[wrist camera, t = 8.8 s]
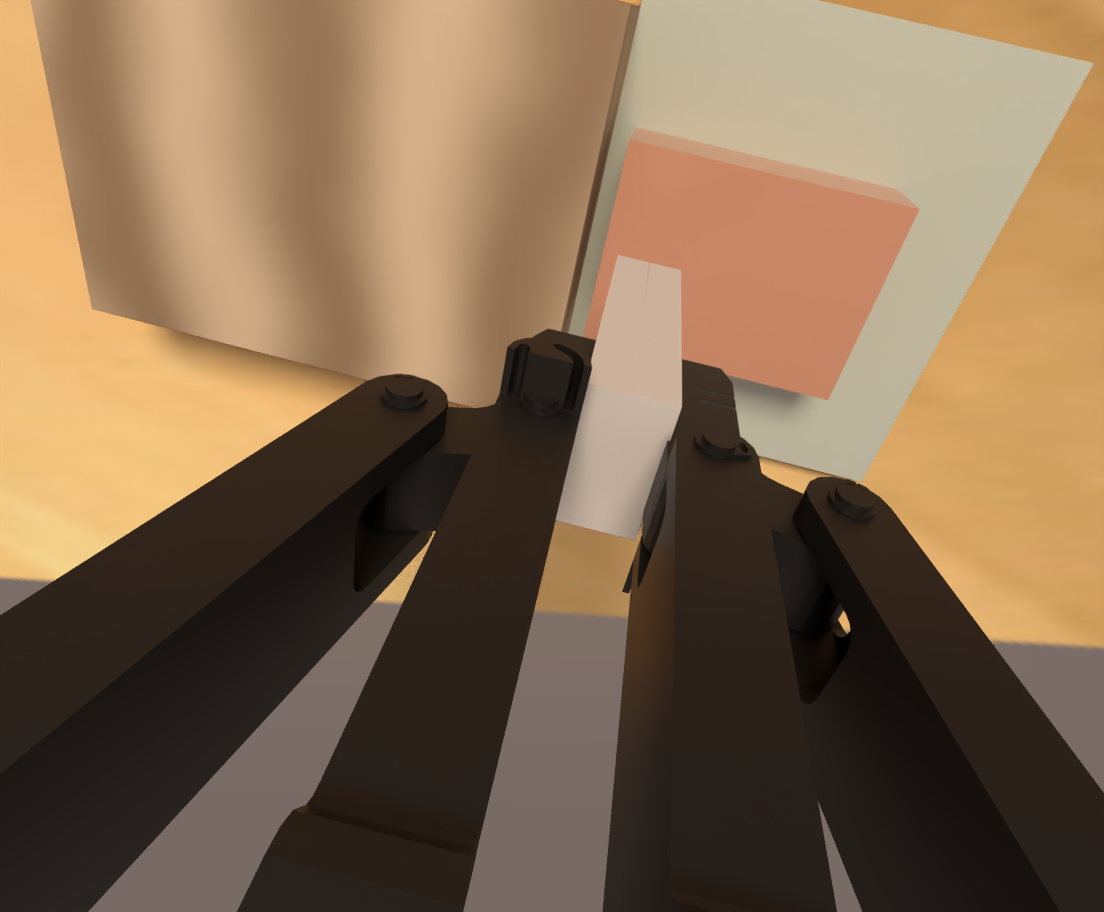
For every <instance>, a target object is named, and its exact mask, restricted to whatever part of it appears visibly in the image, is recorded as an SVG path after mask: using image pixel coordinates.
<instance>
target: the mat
mask: <svg viewBox="0 0 1104 912" xmlns="http://www.w3.org/2000/svg"><path fill="white" fill-rule="evenodd" d="M1093 64H1094V63H1090V62H1086V61H1082V60H1077V59H1073V58H1069V57H1064V56H1060V55H1056V54H1051V53H1047V52H1042V51H1038V50H1034V49H1029V48H1025V47H1021V46H1016V45H1012V44H1007V43H1003V42H999V41H994V40H990V39H986V38H981V37H977V36H973V35H968V34H964V33H959V32H955V31H951V30H946V29H942V28H938V27H933V26H929V25H924V24H920V23H916V22H911V21H907V20H903V19H898V18H894V17H889V16H885V15H881V14H876V13H872V12H868V11H863V10H859V9H855V8H850V7H846V6H841V5H837V4H833V3H828V2H824V1H820V0H642V2H641V6H640V11H639V15H638V20H637V25H636V29H635V34H634V38H633V43H632V47H631V52H630V56H629V61H628V65H627V70H626V74H625V79H624V83H623V88H622V93H621V97H620V102H619V106H618V111H617V115H616V120H615V124H614V129H613V133H612V138H611V142H610V147H609V151H608V156H607V161H606V165H605V170H604V174H603V179H602V183H601V188H600V192H599V197H598V201H597V206H596V210H595V215H594V219H593V224H592V229H591V233H590V238H589V242H588V247H587V251H586V256H585V260H584V265H583V269H582V274H581V278H580V283H579V287H578V292H577V297H576V301H575V306H574V310H573V315H572V319H571V324H570V328H569V334H573V335H577V336H581V337H583V336H584V332H585V327H586V323H587V319H588V314H589V310H590V306H591V302H592V297H593V293H594V289H595V285H596V280H597V276H598V272H599V267H600V263H601V259H602V255H603V250H604V246H605V242H606V237H607V233H608V229H609V225H610V220H611V216H612V212H613V208H614V203H615V199H616V195H617V190H618V186H619V182H620V178H621V173H622V169H623V165H624V161H625V156H626V152H627V148H628V143H629V139H630V138H631V136H632V134H633V132H634V130H635V128H636V127H638V128H642V129H647V130H651V131H655V132H659V133H663V134H668V135H672V136H676V137H680V138H684V139H689V140H693V141H697V142H701V143H705V144H709V145H714V146H718V147H722V148H726V149H730V150H735V151H739V152H743V153H747V154H751V155H756V156H760V157H764V158H768V159H772V160H777V161H781V162H785V163H789V164H793V165H797V166H802V167H806V168H810V169H814V170H818V171H823V172H827V173H831V174H835V175H839V176H844V177H848V178H852V179H856V180H860V181H865V182H869V183H873V184H877V185H881V186H886V187H890V188H894V189H898V190H899V191H900V192H901V193H902V194H903V195H904V196H905V197H907V198H908V199H909V200H910V201H911V202H912V203H913V204H915V205H916V206H917V207H918V208H919V209H920V210H919V212H918V214H917V216H916V218H915V220H914V222H913V224H912V226H911V228H910V231H909V233H908V235H907V237H906V239H905V241H904V243H903V245H902V247H901V249H900V251H899V253H898V256H897V258H896V260H895V262H894V264H893V266H892V268H891V270H890V272H889V274H888V276H887V278H886V281H885V283H884V285H883V287H882V289H881V291H880V293H879V295H878V297H877V299H876V301H875V303H874V306H873V308H872V310H871V312H870V314H869V316H868V318H867V320H866V322H865V324H864V326H863V328H862V331H861V333H860V335H859V337H858V339H857V341H856V343H855V345H854V347H853V349H852V351H851V354H850V356H849V358H848V360H847V362H846V364H845V366H844V368H843V370H842V372H841V374H840V376H839V379H838V381H837V383H836V385H835V387H834V389H833V391H832V393H831V395H830V397H829V399H828V400H824V399H820V398H816V397H812V396H809V395H805V394H801V393H797V392H793V391H789V390H785V389H781V388H777V387H773V386H769V385H765V384H761V383H757V382H753V381H749V380H745V379H741V378H737V377H733V376H729V375H727V377H728V378H729V379H730V380H731V381H732V383H733V389H734V399H735V403H736V408H735V409H736V410H737V417H738V424H739V432H740V437H742V438H744V439H745V440H746V441H747V442H748V443H749V444H750V445H752V446H753V447H754V449H755V451H756V453H757V455H758V456H762V457H766V458H770V459H774V460H778V461H782V462H786V463H790V464H793V465H797V466H801V467H805V468H809V469H813V470H817V471H821V472H825V473H828V474H832V475H836V476H840V477H844V478H848V479H852V480H856V481H859V482H862V480H863V478H864V476H865V475H866V473H867V471H868V469H869V467H870V466H871V464H872V462H873V460H874V458H875V457H876V455H877V453H878V451H879V449H880V447H881V446H882V444H883V442H884V440H885V438H886V437H887V435H888V433H889V431H890V429H891V428H892V426H893V424H894V422H895V420H896V419H897V417H898V415H899V413H900V411H901V410H902V408H903V406H904V404H905V402H906V401H907V399H908V397H909V395H910V393H911V392H912V390H913V388H914V386H915V384H916V383H917V381H918V379H919V377H920V375H921V374H922V372H923V370H924V368H925V366H926V365H927V363H928V361H929V359H930V357H931V356H932V354H933V352H934V350H935V348H936V347H937V345H938V343H939V341H940V339H941V338H942V336H943V334H944V332H945V330H946V329H947V327H948V325H949V323H950V321H951V320H952V318H953V316H954V314H955V312H956V311H957V309H958V307H959V305H960V303H961V302H962V300H963V298H964V296H965V294H966V293H967V291H968V289H969V287H970V285H971V284H972V282H973V280H974V278H975V276H976V275H977V273H978V271H979V269H980V267H981V266H982V264H983V262H984V260H985V258H986V256H987V255H988V253H989V251H990V249H991V247H992V246H993V244H994V242H995V240H996V238H997V237H998V235H999V233H1000V231H1001V229H1002V228H1003V226H1004V224H1005V222H1006V220H1007V219H1008V217H1009V215H1010V213H1011V211H1012V210H1013V208H1014V206H1015V204H1016V202H1017V201H1018V199H1019V197H1020V195H1021V193H1022V192H1023V190H1024V188H1025V186H1026V184H1027V183H1028V181H1029V179H1030V177H1031V175H1032V174H1033V172H1034V170H1035V168H1036V166H1037V165H1038V163H1039V161H1040V159H1041V157H1042V156H1043V154H1044V152H1045V150H1046V148H1047V147H1048V145H1049V143H1050V141H1051V139H1052V138H1053V136H1054V134H1055V132H1056V130H1057V129H1058V127H1059V125H1060V123H1061V121H1062V120H1063V118H1064V116H1065V114H1066V112H1067V111H1068V109H1069V107H1070V105H1071V103H1072V102H1073V100H1074V98H1075V96H1076V94H1077V93H1078V91H1079V89H1080V87H1081V85H1082V84H1083V82H1084V80H1085V78H1086V76H1087V75H1088V73H1089V71H1090V69H1091V67H1092V66H1093Z"/></svg>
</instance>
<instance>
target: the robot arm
mask: <svg viewBox="0 0 1104 912" xmlns="http://www.w3.org/2000/svg"><path fill="white" fill-rule="evenodd" d="M735 408H736V403H735V399H734V389H733V383H732V381H731V380H730V379H729V378H728V377H727V375H726V374H725V373H724V372H723V371H722V369H721V368H717V367H713V366H709V365H704V364H700V363H696V362H692V361H688V360H684V359H682V312H681V270H679V269H675V268H671V267H666V266H662V265H658V264H654V263H650V262H646V261H641V260H637V259H633V258H629V257H625V256H621V255H618V256H617V260H616V264H615V268H614V272H613V276H612V280H611V284H610V288H609V292H608V296H607V300H606V304H605V308H604V312H603V316H602V319H601V323H600V327H599V331H598V335H597V339H596V340H594V339H590V338H585V337H581V336H577V335H573V334H569V333H565V332H561V331H557V330H553V329H549V328H548V329H546V330H544V331H542V332H541V333H539V334H537V335H535V336H533V338H523V339H520V340H516V341H513V342H512V343H511V344H510V345H509V346H508V347H507V352H506V358H505V364H504V370H503V376H502V382H501V388H500V394H499V396H498V398H497V400H496V402H495V404H493V405H490V406H486V407H480V408H455V407H448V398H447V394H446V393H445V392H444V391H443V390H442V388H441V387H440V386H438V385H436V384H435V383H433V382H431V381H429V380H427V379H423V378H420V377H416V376H414V375H409V374H406V375H404V374H392V375H384V376H378V377H376V378H373V379H371V380H369V381H366V382H365V383H363V384H362V385H360V386H358V387H357V388H355V389H354V390H352V391H351V392H349V393H348V394H346V395H344V396H343V397H341V398H340V399H338V400H337V401H335V402H333V403H332V404H330V405H329V406H327V407H326V408H324V409H322V410H321V411H319V412H318V413H316V414H315V415H313V416H312V417H310V418H308V419H307V420H305V421H304V422H302V423H301V424H299V425H297V426H296V427H294V428H293V429H291V430H290V431H288V432H286V433H285V434H283V435H282V436H280V437H279V438H277V439H275V440H274V441H272V442H271V443H269V444H268V445H266V446H265V447H263V448H261V449H260V450H258V451H257V452H255V453H254V454H252V455H250V456H249V457H247V458H246V459H244V460H243V461H241V462H239V463H238V464H236V465H235V466H233V467H232V468H230V469H229V470H227V471H225V472H224V473H222V474H221V475H219V476H218V477H216V478H214V479H213V480H211V481H210V482H208V483H207V484H205V485H203V486H202V487H200V488H199V489H197V490H196V491H194V492H192V493H191V494H189V495H188V496H186V497H185V498H183V499H182V500H180V501H178V502H177V503H175V504H174V505H172V506H171V507H169V508H167V509H166V510H164V511H163V512H161V513H160V514H158V515H156V516H155V517H153V518H152V519H150V520H149V521H147V522H146V523H144V524H142V525H141V526H139V527H138V528H136V529H135V530H133V531H131V532H130V533H128V534H127V535H125V536H124V537H122V538H120V539H119V540H117V541H116V542H114V543H113V544H111V545H109V546H108V547H106V548H105V549H103V550H102V551H100V552H99V553H97V554H95V555H94V556H92V557H91V558H89V559H88V560H86V561H84V562H83V563H81V564H80V565H78V566H77V567H75V568H73V569H72V570H70V571H69V572H67V573H66V574H64V575H63V576H61V577H59V578H58V579H56V580H55V581H53V582H52V583H50V584H49V585H47V586H45V587H44V588H42V589H41V590H39V591H38V592H36V593H34V594H33V595H31V596H30V597H28V598H27V599H25V600H23V601H22V602H20V603H19V604H17V605H16V606H14V607H12V608H11V609H9V610H8V611H7V612H5V613H3V614H1V615H0V912H88V911H89V910H90V909H91V908H92V907H93V906H94V904H96V902H97V901H98V900H99V899H100V898H101V897H102V896H103V895H104V894H105V893H106V891H107V890H108V889H109V888H110V887H111V886H112V885H113V884H114V883H115V882H116V881H117V879H119V877H120V876H121V875H122V874H123V873H124V872H125V871H126V870H127V869H128V868H129V867H130V865H131V864H132V863H133V862H134V861H135V860H136V859H137V858H138V857H139V856H140V855H141V854H142V853H143V851H144V850H145V849H146V848H147V847H148V846H149V845H150V844H151V843H152V842H153V841H154V839H155V838H156V837H157V836H158V835H159V834H160V833H161V832H162V831H163V830H164V829H165V828H166V826H167V825H168V824H169V823H170V822H171V821H172V820H173V819H174V818H175V817H176V816H177V815H178V813H179V812H180V811H181V810H182V809H183V808H184V807H185V806H186V805H187V804H188V803H189V802H190V800H191V799H192V798H193V797H194V796H195V795H196V794H197V793H198V792H199V791H200V790H201V789H202V787H203V786H204V785H205V784H206V783H207V782H208V781H209V780H210V779H211V778H212V777H213V775H214V774H215V773H216V772H217V771H218V770H219V769H220V768H221V767H222V766H223V765H224V764H225V762H226V761H227V760H228V759H229V758H230V757H231V756H232V755H233V754H234V753H235V752H236V751H237V749H238V748H239V747H240V746H241V745H242V744H243V743H244V742H245V741H246V740H247V738H249V736H250V735H251V734H252V733H253V732H254V731H255V730H256V729H257V728H258V727H259V726H260V724H261V723H262V722H263V721H264V720H265V719H266V718H267V717H268V716H269V715H270V714H271V713H272V711H273V710H274V709H275V708H276V707H277V706H278V705H279V704H280V703H281V702H282V701H283V700H284V698H285V697H286V696H287V695H288V694H289V693H290V692H291V691H292V690H293V689H294V688H295V686H296V685H297V684H298V683H299V682H300V681H301V680H302V679H303V678H304V677H305V676H306V675H307V673H308V672H309V671H310V670H311V669H312V668H313V667H314V666H315V665H316V663H318V662H319V660H320V659H321V658H322V657H323V656H324V655H325V654H326V653H327V652H328V651H329V650H330V649H331V647H332V646H333V645H334V644H335V643H336V642H337V641H338V640H339V639H340V638H341V636H342V635H343V634H344V633H345V632H346V631H347V630H348V629H349V628H350V627H351V626H352V625H353V624H354V622H355V621H356V620H357V619H358V618H359V617H360V616H361V615H362V614H363V613H364V612H365V610H366V609H367V608H368V607H369V606H370V605H371V604H372V603H373V602H374V601H375V600H376V599H377V597H378V596H379V595H380V594H381V593H382V592H383V591H384V590H385V589H386V588H387V587H388V586H389V584H390V583H391V582H392V581H393V580H394V579H395V578H396V577H397V576H398V575H399V574H400V573H401V571H402V570H403V569H404V568H405V567H406V566H407V565H408V564H409V563H410V562H411V561H412V560H413V558H414V557H415V556H416V555H417V554H418V553H419V552H420V551H421V550H422V549H423V548H424V546H425V545H426V544H427V543H428V541H429V539H430V537H431V536H432V532H433V531H436V532H435V534H434V537H433V539H432V541H431V543H430V545H429V547H428V550H427V552H426V554H425V556H424V558H423V560H422V563H421V565H420V567H419V569H418V571H417V573H416V576H415V578H414V580H413V582H412V584H411V586H410V589H409V591H408V593H407V595H406V597H405V599H404V602H403V604H402V606H401V608H400V610H399V613H398V615H397V617H396V619H395V621H394V623H393V625H392V627H391V630H390V632H389V634H388V636H387V638H386V641H385V643H384V645H383V647H382V649H381V651H380V653H379V656H378V658H377V660H376V662H375V664H374V667H373V669H372V671H371V673H370V675H369V677H368V680H367V682H366V684H365V686H364V688H363V690H362V692H361V695H360V697H359V699H358V701H357V704H356V706H355V708H354V710H353V712H352V714H351V716H350V718H349V720H348V723H347V725H346V727H345V729H344V731H343V733H342V736H341V738H340V740H339V742H338V744H337V747H336V749H335V751H334V753H333V755H332V757H331V759H330V762H329V764H328V766H327V768H326V770H325V773H324V775H323V777H322V779H321V781H320V783H319V785H318V787H317V789H316V791H315V793H314V795H313V797H312V798H311V799H310V800H309V802H308V803H307V805H305V806H302V807H300V808H297V809H294V810H293V811H292V812H291V813H290V815H289V816H288V817H287V818H286V820H285V821H284V823H283V824H282V825H281V826H280V828H279V830H278V832H277V834H276V835H275V837H274V839H273V841H272V843H271V844H270V846H269V848H268V850H267V852H266V854H265V855H264V857H263V859H262V862H261V864H260V866H259V868H258V870H257V872H256V874H255V876H254V878H253V880H252V882H251V884H250V886H249V888H248V890H247V892H246V894H245V896H244V898H243V901H242V902H241V905H240V907H239V909H238V911H237V912H463V910H464V906H465V901H466V897H467V893H468V888H469V884H470V880H471V876H472V871H473V867H474V862H475V858H476V853H477V848H478V844H479V839H480V835H481V831H482V826H483V822H484V818H485V814H486V810H487V805H488V801H489V797H490V793H491V789H492V785H493V780H494V776H495V772H496V768H497V763H498V759H499V755H500V751H501V747H502V743H503V738H504V734H505V730H506V726H507V722H508V717H509V713H510V709H511V705H512V701H513V696H514V692H515V688H516V684H517V680H518V675H519V671H520V667H521V663H522V659H523V654H524V650H525V646H526V641H527V637H528V633H529V629H530V625H531V621H532V617H533V613H534V608H535V604H536V600H537V596H538V592H539V587H540V583H541V579H542V575H543V571H544V566H545V562H546V558H547V554H548V550H549V545H550V541H551V537H552V533H553V529H554V524H555V520H556V521H560V522H564V523H568V524H572V525H576V526H580V527H584V528H588V529H592V530H596V531H600V532H604V533H608V534H612V535H616V536H620V537H624V538H628V539H632V540H636V539H637V536H638V533H639V530H640V527H641V524H642V521H643V527H642V537H641V540H640V542H639V545H638V548H637V551H636V554H635V557H634V560H633V562H632V565H631V568H630V571H629V574H628V577H627V580H626V583H625V585H624V588H623V591H622V592H625V593H629V592H630V589H631V595H630V606H629V617H628V629H627V640H626V652H625V665H624V674H623V675H624V676H623V686H622V697H621V709H620V721H619V731H618V744H617V754H616V766H615V778H614V789H613V800H612V812H611V823H610V835H609V845H608V846H609V847H608V857H607V868H606V880H605V891H604V902H603V912H837V909H836V904H835V898H834V892H833V886H832V881H831V874H830V870H829V863H828V857H827V851H826V845H825V840H824V834H823V828H822V822H821V816H820V810H819V805H818V801H819V804H820V806H821V809H822V811H823V814H824V816H825V819H826V821H827V824H828V826H829V829H830V831H831V834H832V836H833V839H834V841H835V844H836V846H837V849H838V851H839V854H840V857H841V859H842V862H843V864H844V867H845V869H846V871H847V874H848V876H849V879H850V881H851V884H852V886H853V889H854V892H855V894H856V896H857V899H858V902H859V904H860V906H861V909H862V912H1104V793H1103V791H1102V790H1101V789H1100V787H1099V786H1098V785H1097V783H1096V782H1095V780H1094V779H1093V778H1092V776H1091V775H1090V774H1089V772H1088V771H1087V770H1086V769H1085V767H1084V766H1083V764H1082V763H1081V762H1080V760H1079V759H1078V758H1077V756H1076V755H1075V754H1074V752H1073V751H1072V750H1071V748H1070V747H1069V746H1068V744H1067V743H1066V742H1065V740H1064V739H1063V738H1062V736H1061V735H1060V734H1059V732H1058V731H1057V730H1056V728H1055V727H1054V726H1053V724H1052V723H1051V722H1050V720H1049V719H1048V718H1047V716H1046V715H1045V714H1044V712H1043V711H1042V710H1041V708H1040V707H1039V706H1038V704H1037V703H1036V702H1035V700H1034V699H1033V698H1032V696H1031V695H1030V693H1029V692H1028V691H1027V689H1026V688H1025V687H1024V686H1023V684H1022V683H1021V682H1020V680H1019V679H1018V677H1017V676H1016V675H1015V674H1014V672H1013V671H1012V669H1011V668H1010V667H1009V665H1008V664H1007V663H1006V662H1005V660H1004V659H1003V658H1002V656H1001V655H1000V653H999V652H998V651H997V649H996V648H995V647H994V645H993V644H992V643H991V641H990V640H989V639H988V637H987V636H986V635H985V633H984V632H983V631H982V629H981V628H980V627H979V625H978V624H977V623H976V621H975V620H974V619H973V617H972V616H971V615H970V613H969V612H968V611H967V609H966V608H965V606H964V605H963V604H962V602H961V601H960V600H959V598H958V597H957V596H956V594H955V593H954V592H953V590H952V589H951V588H950V586H949V585H948V584H947V582H946V581H945V580H944V578H943V577H942V576H941V574H940V573H939V572H938V570H937V569H936V568H935V566H934V565H933V564H932V562H931V561H930V560H929V558H928V557H927V556H926V554H925V553H924V552H923V550H922V549H921V548H920V546H919V545H918V544H917V542H916V541H915V540H914V538H913V537H912V536H911V534H910V533H909V532H908V530H907V529H906V528H905V526H904V525H903V524H902V522H901V521H900V520H899V518H898V517H897V515H896V514H895V513H894V511H893V510H892V509H891V508H890V507H889V506H888V505H887V504H886V503H885V502H884V501H883V500H882V499H881V498H880V497H879V496H877V495H876V494H874V493H873V492H871V491H870V490H869V489H868V488H866V487H865V486H863V485H861V484H856V482H853V481H850V480H844V479H839V478H835V477H818V478H816V479H814V480H812V481H810V482H809V484H808V486H807V488H806V490H805V492H804V494H802V493H800V492H798V491H795V490H793V489H791V488H789V487H786V486H784V485H782V484H780V483H778V482H776V481H774V480H772V479H770V478H768V477H766V476H765V475H764V474H762V473H761V467H760V462H759V457H758V455H757V453H756V451H755V449H754V447H753V446H752V445H750V444H749V443H748V442H747V441H746V440H745V439H744V438H742V437H740V432H739V424H738V417H737V410H736V409H735ZM843 611H845V613H846V615H847V618H848V620H849V623H850V630H851V631H850V632H849V633H848V634H846V632H845V631H844V630H843V628H842V626H841V624H840V622H839V620H838V619H839V617H840V616H841V614H842V612H843Z"/></svg>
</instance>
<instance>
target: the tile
mask: <svg viewBox="0 0 1104 912" xmlns="http://www.w3.org/2000/svg"><path fill="white" fill-rule="evenodd" d="M919 210H920V209H919V208H918V207H917V206H916V205H915V204H913V203H912V202H911V201H910V200H909V199H908V198H907V197H905V196H904V195H903V194H902V193H901V192H900V191H899V190H898V189H894V188H890V187H886V186H881V185H877V184H873V183H869V182H865V181H860V180H856V179H852V178H848V177H844V176H839V175H835V174H831V173H827V172H823V171H818V170H814V169H810V168H806V167H802V166H797V165H793V164H789V163H785V162H781V161H777V160H772V159H768V158H764V157H760V156H756V155H751V154H747V153H743V152H739V151H735V150H730V149H726V148H722V147H718V146H714V145H709V144H705V143H701V142H697V141H693V140H689V139H684V138H680V137H676V136H672V135H668V134H663V133H659V132H655V131H651V130H647V129H642V128H638V127H636V128H635V130H634V132H633V134H632V136H631V138H630V139H629V143H628V148H627V152H626V156H625V161H624V165H623V169H622V173H621V178H620V182H619V186H618V190H617V195H616V199H615V203H614V208H613V212H612V216H611V220H610V225H609V229H608V233H607V237H606V242H605V246H604V250H603V255H602V259H601V263H600V267H599V272H598V276H597V280H596V285H595V289H594V293H593V297H592V302H591V306H590V310H589V314H588V319H587V323H586V327H585V332H584V336H583V337H585V338H590V339H594V340H596V339H597V335H598V331H599V327H600V323H601V319H602V316H603V312H604V308H605V304H606V300H607V296H608V292H609V288H610V284H611V280H612V276H613V272H614V268H615V264H616V260H617V256H618V255H621V256H625V257H629V258H633V259H637V260H641V261H646V262H650V263H654V264H658V265H662V266H666V267H671V268H675V269H679V270H681V312H682V359H684V360H688V361H692V362H696V363H700V364H704V365H709V366H713V367H717V368H721V369H722V371H723V372H724V373H725V374H726V375H729V376H733V377H737V378H741V379H745V380H749V381H753V382H757V383H761V384H765V385H769V386H773V387H777V388H781V389H785V390H789V391H793V392H797V393H801V394H805V395H809V396H812V397H816V398H820V399H824V400H828V399H829V397H830V395H831V393H832V391H833V389H834V387H835V385H836V383H837V381H838V379H839V376H840V374H841V372H842V370H843V368H844V366H845V364H846V362H847V360H848V358H849V356H850V354H851V351H852V349H853V347H854V345H855V343H856V341H857V339H858V337H859V335H860V333H861V331H862V328H863V326H864V324H865V322H866V320H867V318H868V316H869V314H870V312H871V310H872V308H873V306H874V303H875V301H876V299H877V297H878V295H879V293H880V291H881V289H882V287H883V285H884V283H885V281H886V278H887V276H888V274H889V272H890V270H891V268H892V266H893V264H894V262H895V260H896V258H897V256H898V253H899V251H900V249H901V247H902V245H903V243H904V241H905V239H906V237H907V235H908V233H909V231H910V228H911V226H912V224H913V222H914V220H915V218H916V216H917V214H918V212H919Z"/></svg>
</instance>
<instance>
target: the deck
mask: <svg viewBox="0 0 1104 912" xmlns="http://www.w3.org/2000/svg"><path fill="white" fill-rule="evenodd" d="M31 4H32V9H33V14H34V19H35V24H36V29H37V35H38V40H39V45H40V50H41V55H42V60H43V65H44V70H45V75H46V80H47V85H48V90H49V95H50V100H51V105H52V110H53V115H54V120H55V125H56V130H57V135H58V140H59V145H60V150H61V155H62V160H63V165H64V170H65V175H66V180H67V185H68V190H69V195H70V200H71V205H72V210H73V215H74V220H75V225H76V230H77V235H78V240H79V245H80V250H81V255H82V260H83V266H84V271H85V276H86V281H87V286H88V291H89V296H90V301H91V306H92V309H95V310H98V311H102V312H106V313H110V314H114V315H118V316H122V317H125V318H129V319H133V320H137V321H141V322H145V323H149V324H152V325H156V326H160V327H164V328H168V329H172V330H176V331H179V332H183V333H187V334H191V335H195V336H199V337H203V338H206V339H210V340H214V341H218V342H222V343H226V344H230V345H233V346H237V347H241V348H245V349H249V350H253V351H257V352H260V353H264V354H268V355H272V356H276V357H280V358H284V359H287V360H291V361H295V362H299V363H303V364H307V365H311V366H315V367H318V368H322V369H326V370H330V371H334V372H338V373H342V374H345V375H349V376H353V377H357V378H361V379H365V380H371V379H373V378H376V377H378V376H384V375H392V374H404V375H406V374H409V375H414V376H416V377H420V378H423V379H427V380H429V381H431V382H433V383H435V384H436V385H438V386H440V387H441V388H442V390H443V391H444V392H445V393H446V394H447V398H448V401H450V402H453V403H457V404H461V405H465V406H469V407H473V408H480V407H486V406H490V405H493V404H495V402H496V400H497V398H498V396H499V394H500V388H501V382H502V376H503V370H504V364H505V358H506V352H507V347H508V346H509V345H510V344H511V343H512V342H513V341H516V340H520V339H523V338H533V336H535V335H537V334H539V333H541V332H542V331H544V330H546V329H548V328H549V329H553V330H557V331H561V332H565V333H569V328H570V324H571V319H572V315H573V310H574V306H575V301H576V297H577V292H578V287H579V283H580V278H581V274H582V269H583V265H584V260H585V256H586V251H587V247H588V242H589V238H590V233H591V229H592V224H593V219H594V215H595V210H596V206H597V201H598V197H599V192H600V188H601V183H602V179H603V174H604V170H605V165H606V161H607V156H608V151H609V147H610V142H611V138H612V133H613V129H614V124H615V120H616V115H617V111H618V106H619V102H620V97H621V93H622V88H623V83H624V79H625V74H626V70H627V65H628V61H629V56H630V52H631V47H632V43H633V38H634V34H635V29H636V25H637V20H638V15H639V11H640V6H639V5H635V4H631V3H626V2H622V1H618V0H31Z"/></svg>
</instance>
